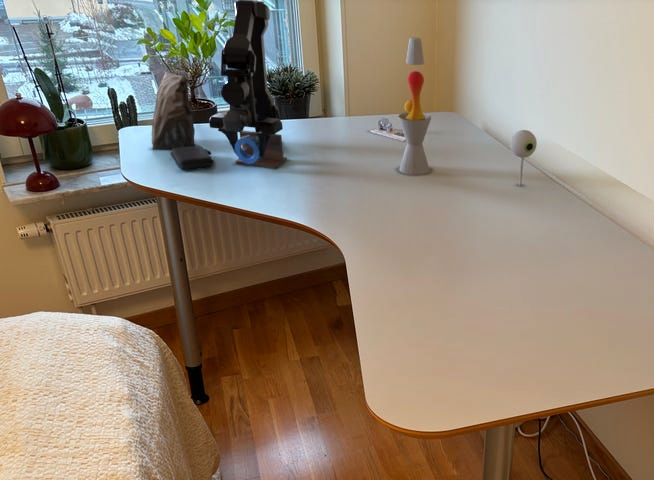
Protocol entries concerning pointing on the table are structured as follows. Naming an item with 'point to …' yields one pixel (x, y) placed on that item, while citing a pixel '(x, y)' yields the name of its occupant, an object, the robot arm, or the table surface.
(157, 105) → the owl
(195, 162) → the carrying case
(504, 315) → the table surface
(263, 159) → the hook
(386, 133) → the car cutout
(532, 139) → the eyeball on stand
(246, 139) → the tape roll
